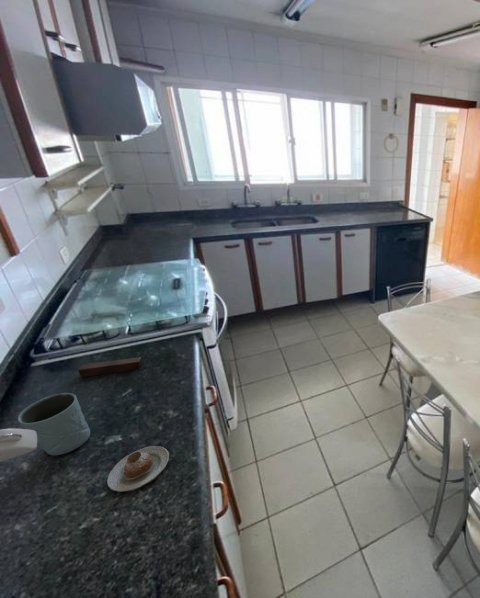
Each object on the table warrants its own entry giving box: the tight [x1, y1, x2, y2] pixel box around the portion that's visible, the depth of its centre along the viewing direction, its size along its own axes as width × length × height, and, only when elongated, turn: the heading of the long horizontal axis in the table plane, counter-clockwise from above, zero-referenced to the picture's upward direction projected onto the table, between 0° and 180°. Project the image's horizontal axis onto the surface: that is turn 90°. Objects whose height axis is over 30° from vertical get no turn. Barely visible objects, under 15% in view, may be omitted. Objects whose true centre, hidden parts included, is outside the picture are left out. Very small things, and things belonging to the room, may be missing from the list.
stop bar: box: [77, 356, 143, 378], centre depth 110 cm, size 16×3×3 cm, turn 112°
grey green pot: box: [17, 392, 91, 456], centre depth 82 cm, size 10×10×12 cm
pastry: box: [106, 445, 170, 493], centre depth 78 cm, size 12×12×5 cm
